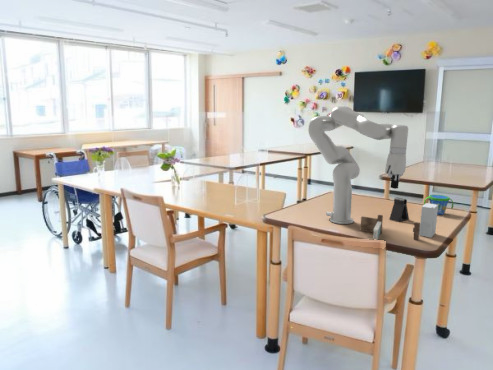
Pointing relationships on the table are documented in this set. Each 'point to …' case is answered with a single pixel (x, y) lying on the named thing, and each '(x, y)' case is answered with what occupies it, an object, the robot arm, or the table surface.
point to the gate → (377, 230)
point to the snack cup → (439, 202)
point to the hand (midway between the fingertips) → (394, 188)
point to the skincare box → (428, 220)
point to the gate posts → (370, 223)
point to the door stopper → (399, 210)
